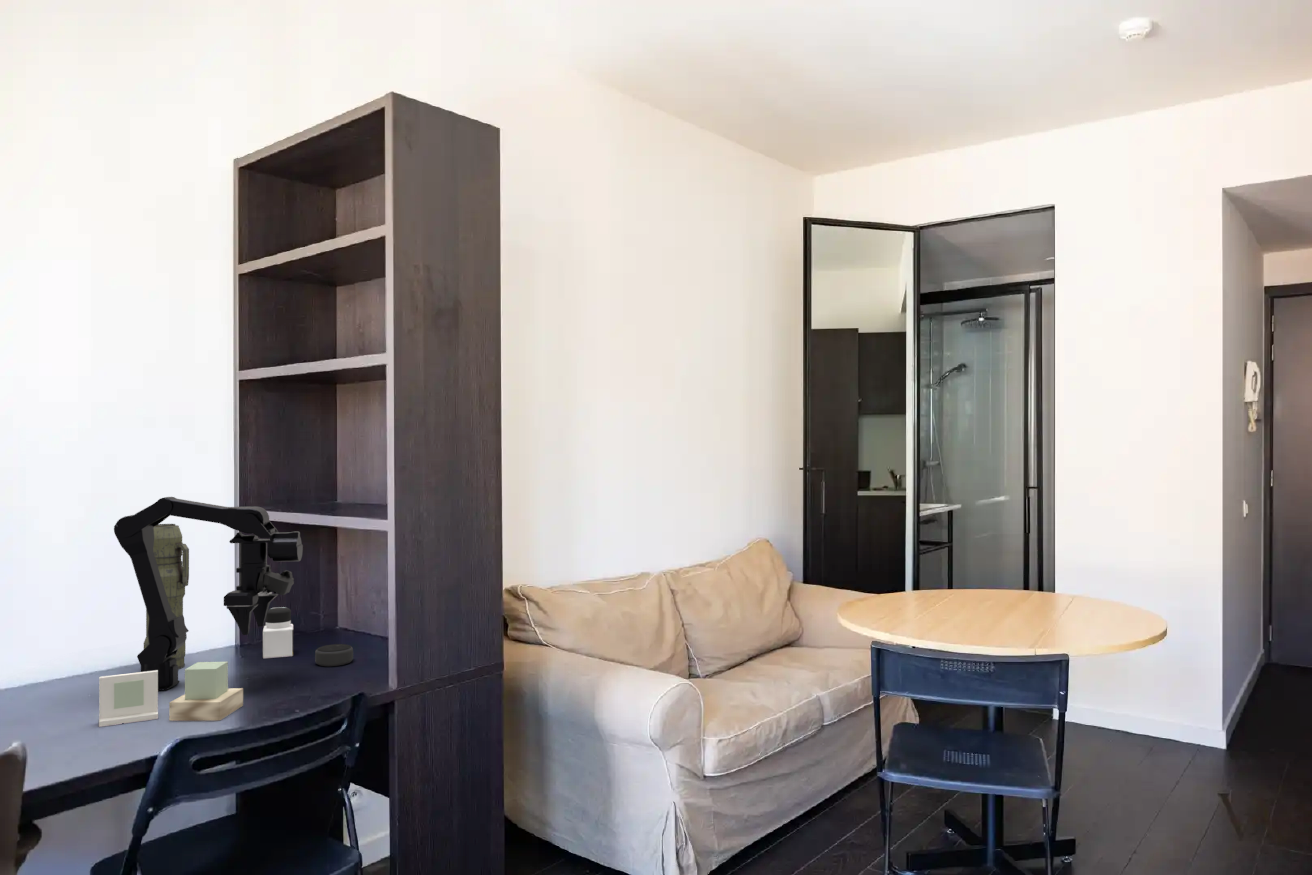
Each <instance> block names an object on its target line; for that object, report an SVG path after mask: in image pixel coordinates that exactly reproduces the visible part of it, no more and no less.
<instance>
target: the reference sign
mask: <svg viewBox="0 0 1312 875" xmlns="http://www.w3.org/2000/svg"><path fill="white" fill-rule="evenodd" d="M98 681H99V684H98V686H99V689H98V692H99V693H98V694H99V695H98V697H99V700H98V701H99V702H98V706H99V707H98V708H99V710H98V714H99V716H98V727H99V728H101V727H108V726H109V727H110V726H115V725H116V726H117V725H123V724H122V723H124V724H130V723H131V724H132V723H138V722H144V721H146V722H147V721H151V720H158V719H159V690H158V670H155V671H146V672H141V671H139V672H131V673H123V674H113V675H102V676H99V678H98Z"/></svg>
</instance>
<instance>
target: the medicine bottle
mask: <svg viewBox="0 0 1312 875" xmlns="http://www.w3.org/2000/svg"><path fill="white" fill-rule="evenodd" d="M291 613H292V609H290V608H288V607H286V606H285V607H284V606H283V607H282V606H281V607H280V606H278V607H272V608H268V611H267V615H266V618H265V625H263V629H262V658H263V659H273V658H274V659H275V658H286V657H293V656H294V624H293V623H292V614H291Z"/></svg>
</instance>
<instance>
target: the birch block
mask: <svg viewBox="0 0 1312 875" xmlns="http://www.w3.org/2000/svg"><path fill="white" fill-rule="evenodd" d="M168 703H169V705H168V706H169V708H168V710H169V715H168V717H169V719H168V720H169V721H173V722H174V721H176V722H177V721H183V722H184V721H187V722H189V721H194V722H195V721H200V722H201V721H206V722H207V721H213V722H214V721H222V720H223V719H225V718H226V717H228V716H230V715H231V714H232V713H234V712H235V711H237V710H239V709H240V708H241V707H243V706H244V688H243V687H241V688H240V687H239V688H237V687H236V688H233V687H232V688H231V687H228V691H226V692H225V693H224V694H222V695H221V696H219V697H218V698H217V699H189V700H185V693H184V694H182V695H181V696H179V697H177V698H175V699H173V700H171V701H169V702H168Z"/></svg>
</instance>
